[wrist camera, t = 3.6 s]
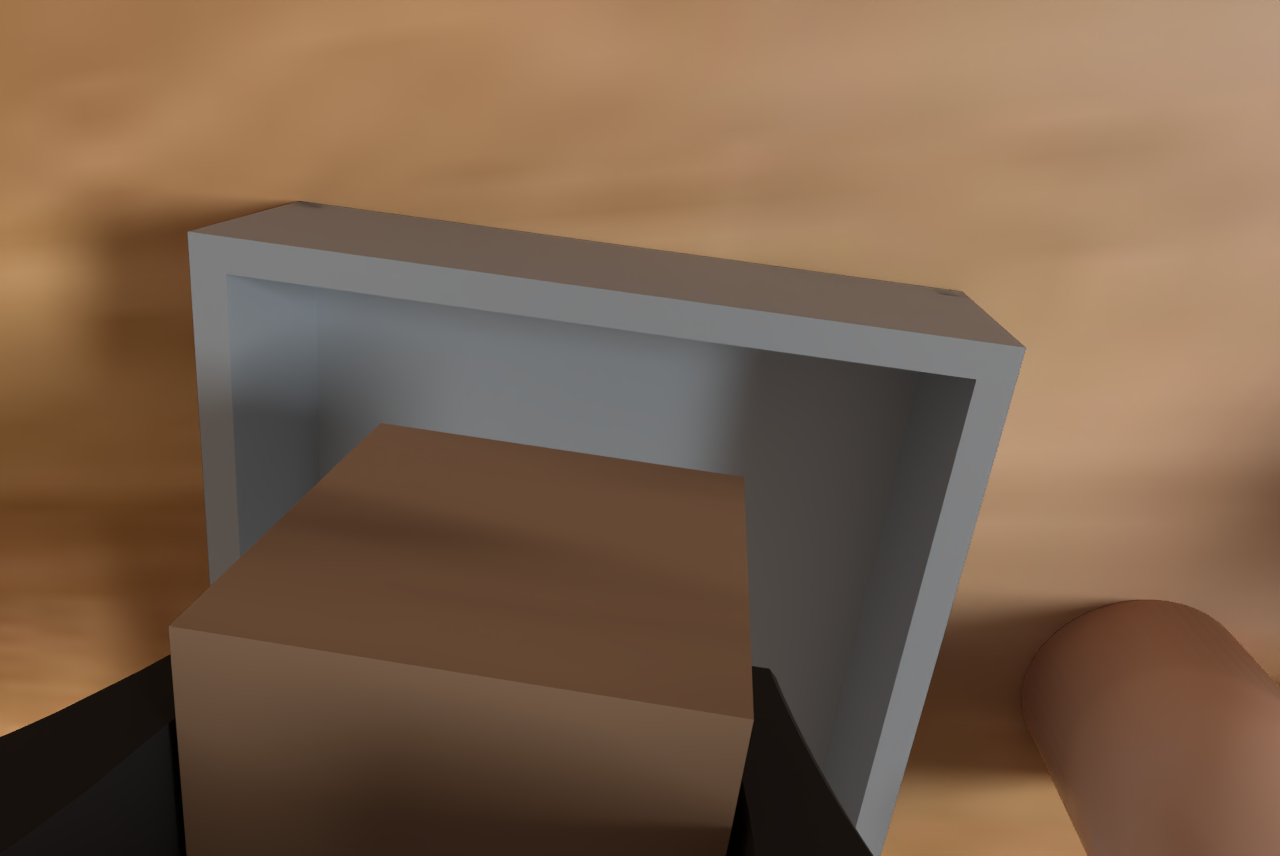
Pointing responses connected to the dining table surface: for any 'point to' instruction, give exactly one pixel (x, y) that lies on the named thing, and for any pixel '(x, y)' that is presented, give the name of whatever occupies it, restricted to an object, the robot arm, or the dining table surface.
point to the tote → (635, 419)
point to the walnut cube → (473, 661)
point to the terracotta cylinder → (1158, 733)
